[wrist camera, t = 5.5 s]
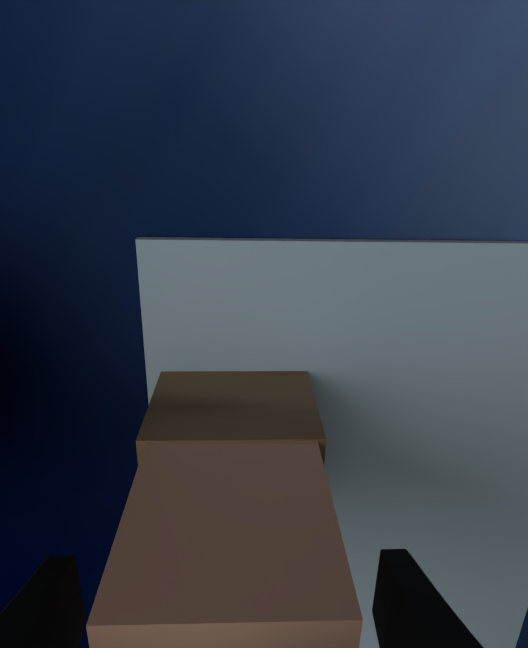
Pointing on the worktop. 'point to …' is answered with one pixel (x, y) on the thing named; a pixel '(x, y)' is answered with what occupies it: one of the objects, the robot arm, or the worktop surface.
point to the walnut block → (232, 408)
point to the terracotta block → (227, 553)
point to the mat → (380, 390)
